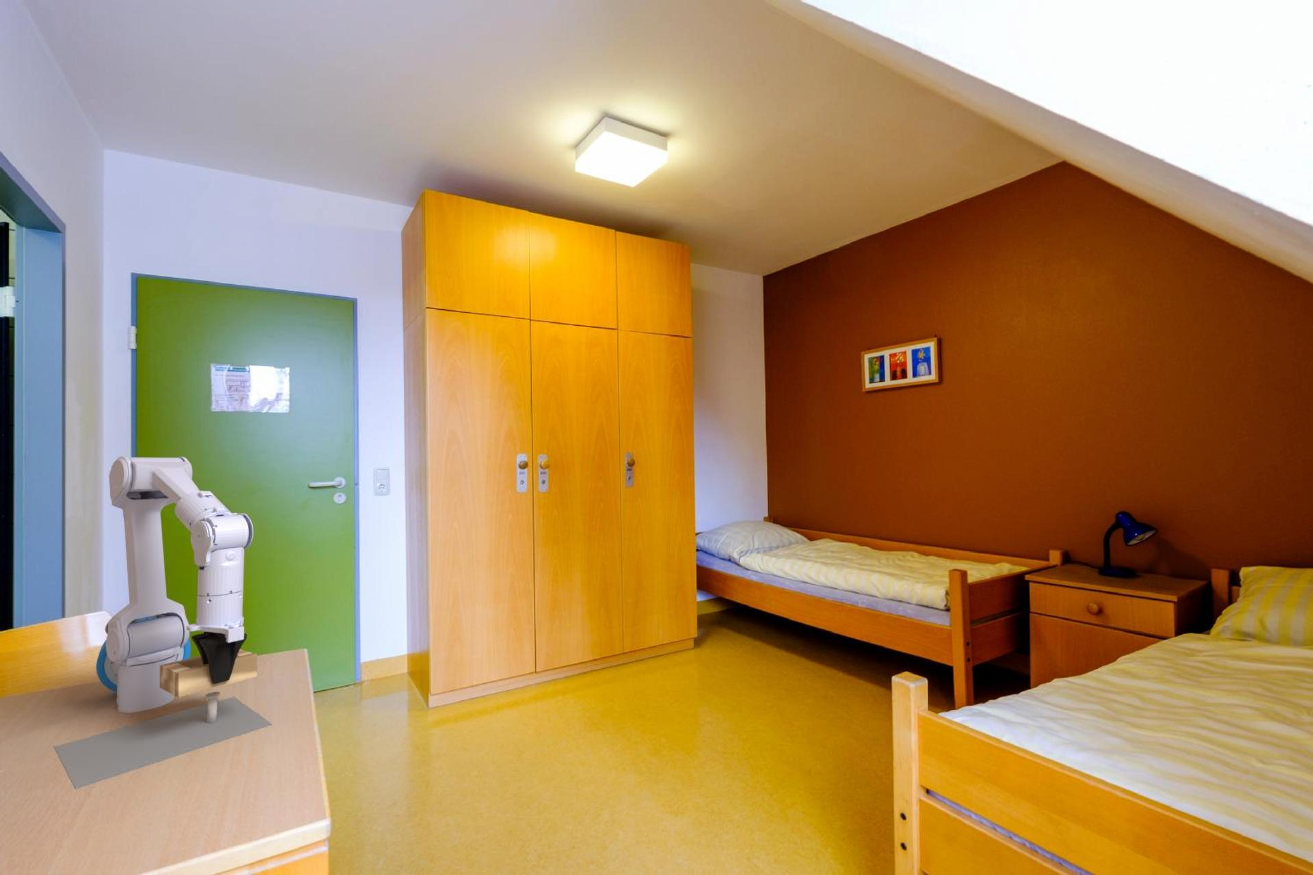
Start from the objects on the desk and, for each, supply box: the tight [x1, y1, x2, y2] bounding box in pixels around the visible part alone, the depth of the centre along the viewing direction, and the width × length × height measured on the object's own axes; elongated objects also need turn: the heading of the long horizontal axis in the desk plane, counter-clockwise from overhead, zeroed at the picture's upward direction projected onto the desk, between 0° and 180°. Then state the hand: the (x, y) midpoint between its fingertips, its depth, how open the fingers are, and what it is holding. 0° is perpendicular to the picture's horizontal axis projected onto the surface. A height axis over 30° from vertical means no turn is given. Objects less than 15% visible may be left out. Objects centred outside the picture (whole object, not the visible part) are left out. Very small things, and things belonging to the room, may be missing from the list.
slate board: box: [53, 691, 274, 790], centre depth 86 cm, size 18×22×6 cm
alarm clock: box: [95, 615, 192, 693], centre depth 107 cm, size 13×6×15 cm, turn 132°
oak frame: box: [160, 648, 258, 698], centre depth 90 cm, size 10×10×4 cm
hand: (218, 679), depth 88 cm, fingers closed on oak frame, 2 cm apart
